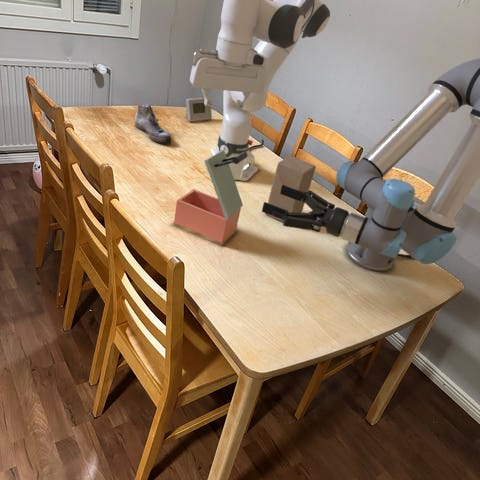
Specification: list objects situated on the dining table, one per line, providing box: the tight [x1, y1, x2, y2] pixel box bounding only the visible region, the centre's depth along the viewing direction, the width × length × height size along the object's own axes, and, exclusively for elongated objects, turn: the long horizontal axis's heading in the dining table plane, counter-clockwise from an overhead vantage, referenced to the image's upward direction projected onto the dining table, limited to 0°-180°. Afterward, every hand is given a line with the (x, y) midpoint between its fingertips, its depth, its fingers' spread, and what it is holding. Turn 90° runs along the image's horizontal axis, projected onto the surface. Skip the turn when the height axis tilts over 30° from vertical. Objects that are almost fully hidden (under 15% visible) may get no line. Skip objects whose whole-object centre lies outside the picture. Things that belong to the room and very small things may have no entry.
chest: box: [173, 188, 242, 247], centre depth 138 cm, size 17×10×9 cm, turn 65°
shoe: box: [134, 102, 172, 145], centre depth 194 cm, size 25×11×12 cm, turn 30°
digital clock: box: [185, 96, 213, 123], centre depth 224 cm, size 16×9×11 cm, turn 123°
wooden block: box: [264, 155, 317, 223], centre depth 152 cm, size 10×10×20 cm
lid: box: [204, 150, 248, 219], centre depth 128 cm, size 18×10×9 cm
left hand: (223, 106), depth 119 cm, fingers open, 8 cm apart
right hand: (272, 197), depth 124 cm, fingers open, 13 cm apart
